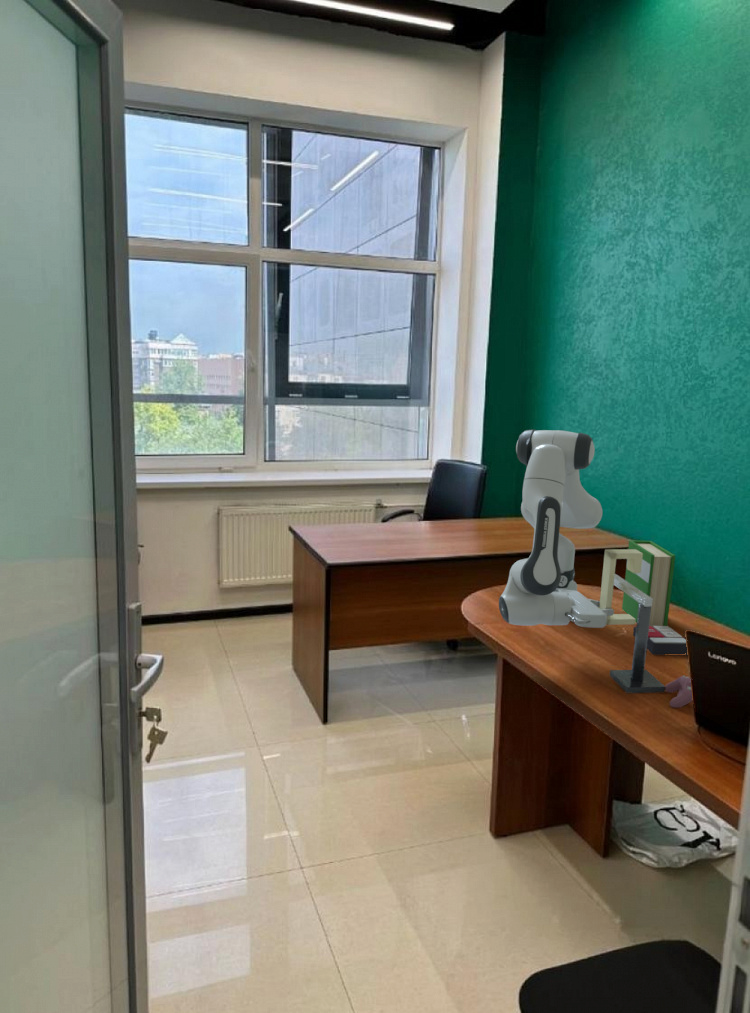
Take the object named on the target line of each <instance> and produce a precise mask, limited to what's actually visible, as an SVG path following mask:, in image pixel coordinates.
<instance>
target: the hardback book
mask: <svg viewBox="0 0 750 1013" xmlns="http://www.w3.org/2000/svg"><path fill="white" fill-rule="evenodd" d="M627 549H636V550H638V551H640V552H641V553H643V557H642V566H641V573H632V572H631V571H629V570H628V569H627V565H625V566H626V567H625V568H626V569H625V576H624V577H625V578H624V580H626V581H627V582H628V583H630V584H631V585H633V586H634V587H636V588H637V589H639V590H640V591H642V592H643V593H645V594H646V595H648V596H649V597H651V598H652V599H653V601H652V606H651V614H650V623H649V626H652V627H653V626H668V621H669V612H670V606H671V605H670V603H671V596H672V586H673V579H674V572H675V563H676V562H675V561H676V555H675V554H673V553H672V552H671V551H669V550H667V549H665V548H663V547H662V546H660V545H659V544H657V543H656V542H654V541H652V540H628V548H627ZM627 561H628V559H626V562H627ZM638 606H639V602H637V601H636V600H634V599H633V598H632V597H630V596H629V595H627V594H626V593H625V592H623V596H622V605H621V610H622V609H623V610H624V611H625V612H626V613H627V614H630V615H631V616H632V617H634V618H635V619H636V620H635V624H637V616H638ZM623 610H622V611H623ZM624 611H623V612H624ZM625 612H624V613H625ZM626 613H625V614H626Z"/></svg>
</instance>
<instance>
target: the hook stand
mask: <svg viewBox="0 0 750 1013" xmlns="http://www.w3.org/2000/svg"><path fill="white" fill-rule="evenodd" d="M614 586H615V587H616V588H618V590H620V591H621V592H623V593H624V592H625V593H626V594H627V595H629V596H630V597H632V598H633V599H634V600H636V601H637V602H639V606H638V616H637V623H636V624H635V627H636V634H635V637H634V645H633V654H632V662H631V669H611V670H609V675H610V676H609V677H610V678H611V679H612V680H613V681H614V682H615V683H616V684H617V685H618V686H619V687H620V688H621V689H622V691H624V692H625V693H626V694H643V693H646V694H647V693H648V694H649V693H652V694H653V693H665V692H666V691H665V686H666V685H664V684H663V683H662V682H661V681H660V680H658V679H657V677H655V676H654V675H653V674H652V673H651V672H650V671H649V670H647V669H645V666H646V657H647V651H648V650H647V641H648V632H649V623H650V614H651V606H652V601H653V599H652V598H651V597H649V596H648V595H646V594H645V593H643V592H642V591H640V590H639V589H637V588H636V587H634V586H633V585H631V584H630V583H628V582H627V581H626V580H625V578H622V577H621V576H620V575H618V574H616V573H615V576H614Z"/></svg>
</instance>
